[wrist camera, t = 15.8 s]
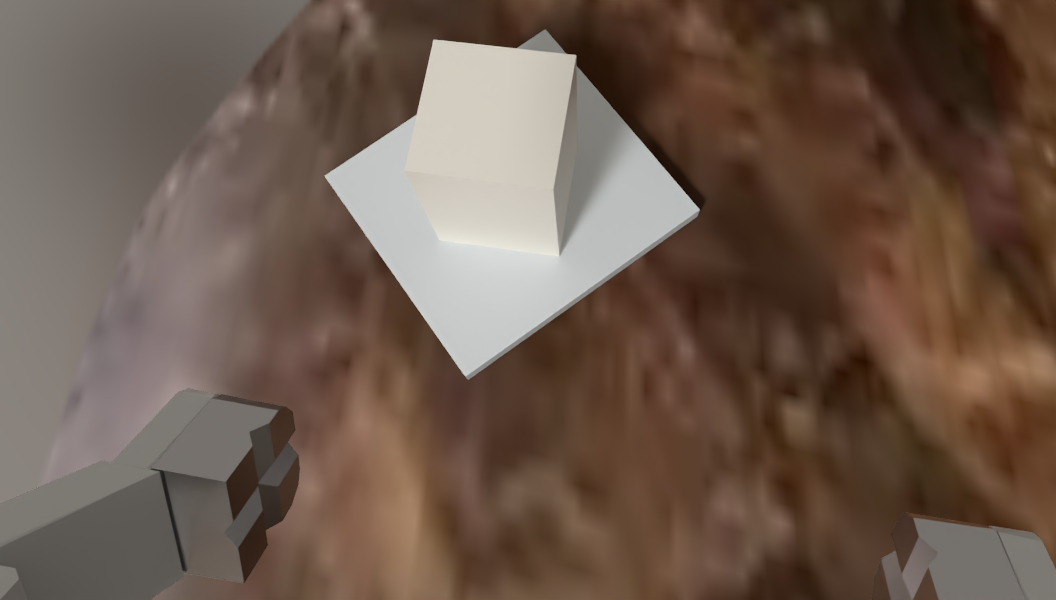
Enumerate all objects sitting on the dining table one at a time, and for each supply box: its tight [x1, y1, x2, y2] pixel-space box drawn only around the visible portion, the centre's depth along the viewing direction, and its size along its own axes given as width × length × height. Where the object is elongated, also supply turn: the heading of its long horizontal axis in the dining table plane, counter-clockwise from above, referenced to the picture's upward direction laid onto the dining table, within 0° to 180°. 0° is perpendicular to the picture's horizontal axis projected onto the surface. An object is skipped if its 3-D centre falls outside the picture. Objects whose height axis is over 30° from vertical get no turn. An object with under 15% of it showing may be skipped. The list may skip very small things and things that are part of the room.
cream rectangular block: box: [404, 40, 578, 256], centre depth 34 cm, size 6×6×8 cm
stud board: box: [325, 29, 700, 380], centre depth 35 cm, size 13×12×6 cm
